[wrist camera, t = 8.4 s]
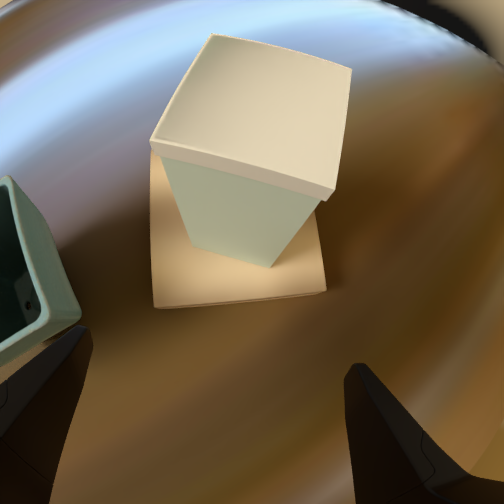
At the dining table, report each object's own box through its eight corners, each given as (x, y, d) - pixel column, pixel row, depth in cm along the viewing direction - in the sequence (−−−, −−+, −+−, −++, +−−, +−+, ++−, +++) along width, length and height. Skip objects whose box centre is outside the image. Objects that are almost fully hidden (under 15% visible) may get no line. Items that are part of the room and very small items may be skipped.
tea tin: (270, 270, 20) (334, 189, 8) (190, 247, 19) (149, 140, 8) (289, 196, 21) (351, 68, 9) (215, 176, 21) (211, 33, 9)
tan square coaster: (313, 295, 23) (326, 290, 20) (161, 309, 21) (153, 307, 18) (291, 161, 25) (301, 142, 22) (157, 169, 24) (151, 149, 21)
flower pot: (68, 220, 21) (9, 169, 13) (113, 322, 20) (52, 318, 11) (-6, 272, 19) (-76, 247, 11) (30, 370, 18) (-44, 382, 10)
